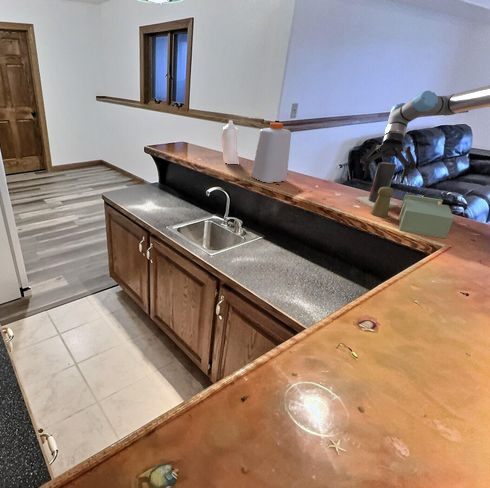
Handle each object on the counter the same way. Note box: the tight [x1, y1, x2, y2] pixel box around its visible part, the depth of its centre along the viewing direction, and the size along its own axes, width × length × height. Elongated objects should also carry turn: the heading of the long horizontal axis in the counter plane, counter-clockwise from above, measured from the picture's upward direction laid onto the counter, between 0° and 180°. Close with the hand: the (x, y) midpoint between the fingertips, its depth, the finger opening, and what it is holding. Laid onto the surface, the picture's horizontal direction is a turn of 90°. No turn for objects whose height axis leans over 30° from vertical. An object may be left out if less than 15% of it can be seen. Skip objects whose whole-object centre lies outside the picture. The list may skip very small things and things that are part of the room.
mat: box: [354, 196, 400, 209], centre depth 151 cm, size 12×12×1 cm
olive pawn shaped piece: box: [370, 187, 395, 218], centre depth 137 cm, size 6×6×11 cm
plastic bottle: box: [251, 122, 292, 184], centre depth 176 cm, size 15×15×28 cm
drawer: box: [400, 193, 444, 209], centre depth 136 cm, size 18×12×6 cm
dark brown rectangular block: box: [368, 161, 397, 203], centre depth 147 cm, size 6×6×16 cm
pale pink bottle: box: [221, 119, 240, 165], centre depth 207 cm, size 12×11×25 cm
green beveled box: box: [398, 199, 455, 240], centre depth 126 cm, size 15×14×8 cm
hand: (383, 179), depth 146 cm, fingers open, 13 cm apart
